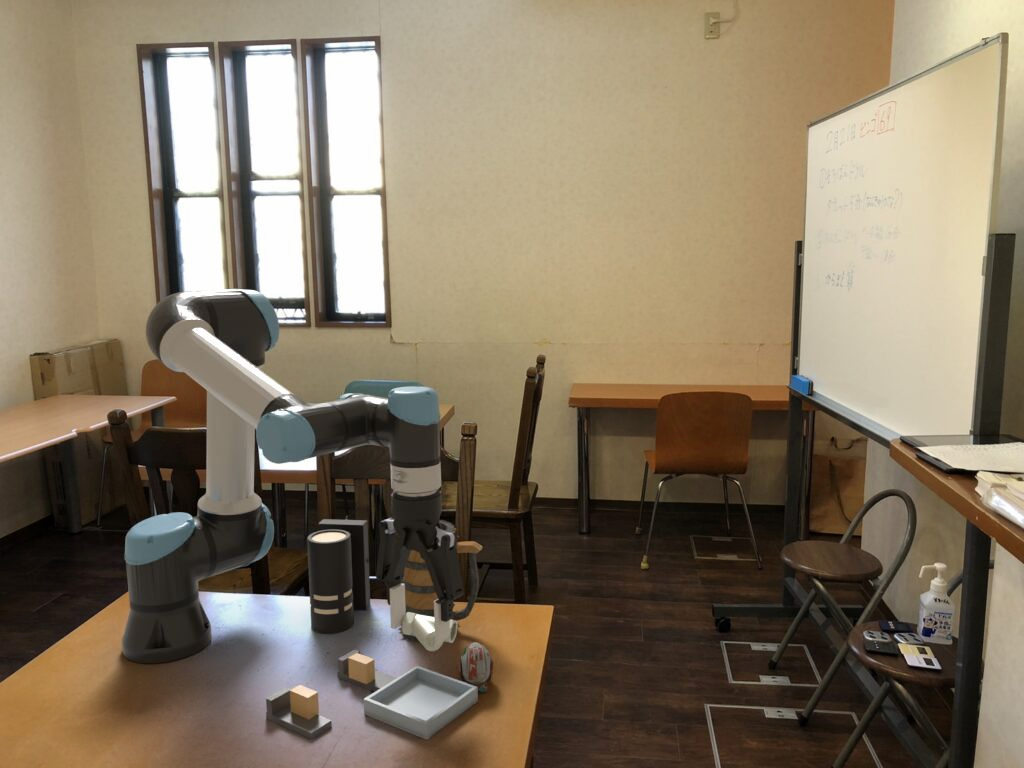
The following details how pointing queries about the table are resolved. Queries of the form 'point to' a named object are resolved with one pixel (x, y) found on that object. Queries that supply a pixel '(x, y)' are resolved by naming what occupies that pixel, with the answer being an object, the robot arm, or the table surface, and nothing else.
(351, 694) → the table surface
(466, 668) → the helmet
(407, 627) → the pipe fitting
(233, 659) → the table surface
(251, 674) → the table surface
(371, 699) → the parts tray
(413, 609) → the mug
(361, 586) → the light fixture
